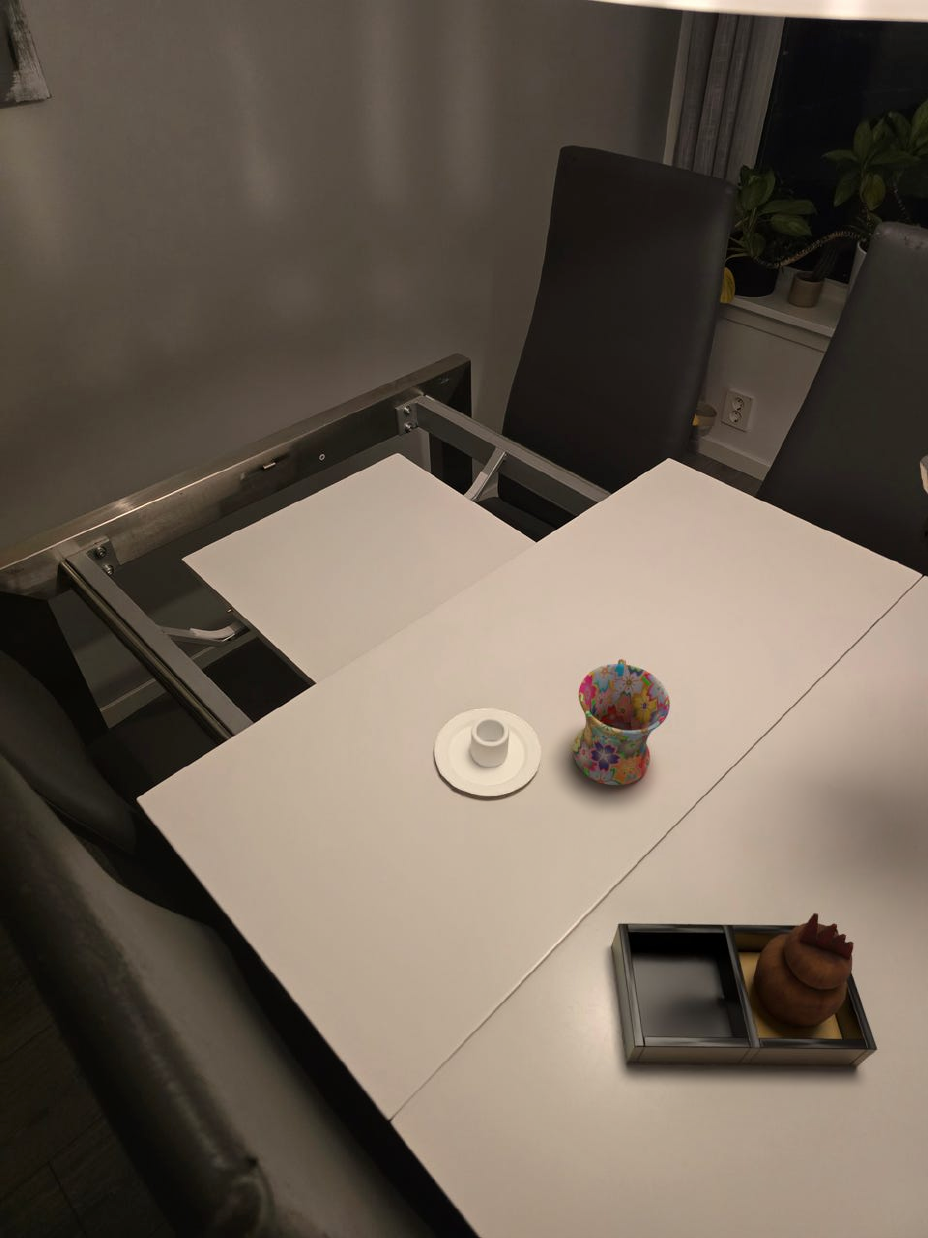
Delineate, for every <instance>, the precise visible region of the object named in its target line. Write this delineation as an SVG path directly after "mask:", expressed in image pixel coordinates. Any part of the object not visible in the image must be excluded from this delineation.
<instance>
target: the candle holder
mask: <svg viewBox="0 0 928 1238" xmlns="http://www.w3.org/2000/svg"><path fill="white" fill-rule="evenodd" d="M436 736H437V737H436V738H435V741H434V747H433V748H434V749H433V755H434V760H435V764H436V767H437V769H438V772H439V773H440V775H441V776H442V777H443V778H444V779H445V780H446V781H447V782H448V783H449V784H450V785H451V786H453V787H454V788H456V789H457V790H460V791H462V792H465V793H468V794H471V795H475V796H480V797H497V796H503V795H508V794H510V793H513V792H515V791H517V790H519V789H520V788H522V787H524V786H525V785H527V783H528V782H530V781H531V779H533V777H534V776H535V775H536V773H537V771H538V769H539V767H540V765H541V761H542V747H541V742H540V740H539V737H538V735H537V733H536V732H535V730H534V729H533V728H532V726H531V725H530V724H529V723H528V722H527V721H526V720H525V719H523V718H521V717H520V716H518V715H517V714H514V713H512V712H509V711H507V710H504V709H500V708H494V707H481V708H474V709H473V708H472V709H470V710H466V711H463V712H461V713H458V714H457V715H455V716H454V717H452V718H451V719H449V720H448V721H447V722H446V723H445V724H444V725H443V726H442V727H441V729H440V730H439V732H438V734H437V735H436Z"/></svg>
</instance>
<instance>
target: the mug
mask: <svg viewBox="0 0 928 1238" xmlns="http://www.w3.org/2000/svg"><path fill="white" fill-rule="evenodd" d="M578 701H579V704H580V707H581V709H582V711H583V713H584V717H585V725H584V728H582V729H581V730H580V731H579V732H578V734H577V735H576V737H575V739H574V742H573V746H572V751H573V757H574V760H575V762H576V764H577V766H578V767H579V769H580V770H581V771H582V772H583V773H584V774H585V775H586V776H587V777H589V778H591V779H592V780H595V781H596V782H598V783H601V784H605V785H608V786H624V785H628V784H631V783H634V782H636V781H637V780H639V779H640V778H641V777H642V776H644V774H645V773H646V772H647V770H648V768H649V765H650V761H651V754H650V749H649V746H648V744H647V743H648V738H649V737H650V735H651V734H652V732H653V731H654V730H656V729H657V728H659V727H660V726H661V725H662V724H663V723H664V722H665V721H666V719H667V717H668V714H669V712H670V707H671V706H670V705H671V704H670V703H671V701H670V697H669V693H668V690H666V688H665V686H664V684H663V683H662V682H661V680H659V679H658V678H657V677H656V676H654V675H653V674H651V673H650V672H649V671H647V670H645V669H642V668H640V667H637V666H634V665H630V664H627V661H626V659H622V658H621V659H619V660H618V661H617V663H612V664H606V665H601V666H599V667H597V668H595V669H593V670H591V671H590V672H589V673H587V675H586V676H585V677H584V678H583V679H582V681H581V682H580V685H579V688H578Z"/></svg>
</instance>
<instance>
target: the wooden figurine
mask: <svg viewBox="0 0 928 1238" xmlns="http://www.w3.org/2000/svg"><path fill="white" fill-rule="evenodd" d="M798 925H799V926H797V927H795V928H794V929H793V930H792V931H791V932H790V934H783V935H779V936H778V937H776V938H774V939H772V940H770V941H769V943H768V944H767V945H766V947H765V948H764V949H763V951H762V952H761V954H760V956H759V958H758V960H757V965H756V969H755V973H754V978H753V980H754V986H755V990H756V994H757V996H758V998H759V1000H760V1002H761V1003H762V1005H763V1006H764V1008H765V1009H766V1010H767V1011H768V1012H769V1013H770V1014H771V1015H772V1016H773V1017H774V1018H776V1019H778V1020H779V1021H781V1022H782V1023H785V1024H788V1025H790V1026H793V1027H800V1028H809V1027H815V1026H817V1025H819V1024H821V1023H822V1022H824V1021H825V1020H827V1019H828V1018H830V1017H831V1016H833V1015H834V1014H835V1013H836V1012H837V1011H838V1010H839V1008H840V1007H841V1005H842V1003H843V1002H844V1000H845V996H846V987H847V983H846V980H847V978H848V977H849V975H850V973H851V972H852V971H853V955H852V954H853V950H854V942H853V941H847V942H846V939H847V935H846V934H845V933H841V934H840V933H839V932H838V933H839V934H838V933H837V932H836V929H837V930H838V924H837V923H832V924H829V925H826V924H822V923H819V914H818V913H816V912H814V913H813V914H812V915H811V917H810V918H809V919H808V921H807V922H804V923H801V924H798ZM828 926H829V927H828Z"/></svg>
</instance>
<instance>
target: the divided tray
mask: <svg viewBox="0 0 928 1238" xmlns="http://www.w3.org/2000/svg"><path fill="white" fill-rule="evenodd" d="M799 925H800V924H797V925H796V924H795V925H794V924H724V923H723V924H720V923H719V924H714V923H713V924H711V923H709V924H708V923H707V924H706V923H638V922H637V923H632V922H631V923H630V922H629V923H620V922H619V923H618V924H617V927H616V930H615V934H614V936H613V939H612V942H611V944H610V945H611V952H612V953H611V954H612V961H613V969H614V976H615V985H616V993H617V1000H618V1009H619V1017H620V1026H621V1032H622V1041H623V1049H624V1056H625V1064H626V1065H645V1066H647V1065H654V1066H655V1065H656V1066H725V1067H726V1066H727V1067H728V1066H732V1067H735V1066H737V1067H748V1066H749V1067H815V1068H817V1067H818V1068H857V1067H859V1066H860V1065H861V1064H863V1063H864V1062H865V1061H866V1060H867V1059H868V1058H870V1057H871V1056H872V1055H873V1054H874V1053H875V1052H876V1051H878V1047H877V1044H876V1041H875V1038H874V1035H873V1032H872V1029H871V1025H870V1023H869V1019H868V1017H867V1014H866V1011H865V1009H864V1008H865V1007H864V1005H863V1002H862V999H861V996H860V993H859V991H858V987H857V984H856V981H855V978H854V975H853V973H852V971H851V973H850V975H849V977H848V978H847V980H846V983H847V987H846V996H845V1000H844V1002H843V1003H842V1005H841V1007H840V1008H839V1010H838V1011H837V1012H836V1013H835V1014H834V1015H833V1016H831V1017H830V1018H828V1019H827V1020H825V1021H824V1022H822V1023H821V1024H819V1025H817V1026H815V1027H809V1028H800V1027H793V1026H790V1025H788V1024H785V1023H782V1022H781V1021H779V1020H778V1019H776V1018H774V1017H773V1016H772V1015H771V1014H770V1013H769V1012H768V1011H767V1010H766V1009H765V1008H764V1006H763V1005H762V1003H761V1002H760V1000H759V998H758V996H757V994H756V990H755V986H754V980H753V978H754V973H755V969H756V965H757V960H758V958H759V956H760V954H761V952H762V951H763V949H764V948H765V947H766V945H767V944H768V943H769V941H770V940H772V939H774V938H776V937H778V936H779V935H783V934H790V932H791V931H792V930H793V929H794V928H795V927H797V926H799ZM827 926H828V927H829V926H830V925H827ZM836 932H837V933H838V934H839V935H840V933H839V930H838V928H837V929H836Z"/></svg>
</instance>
